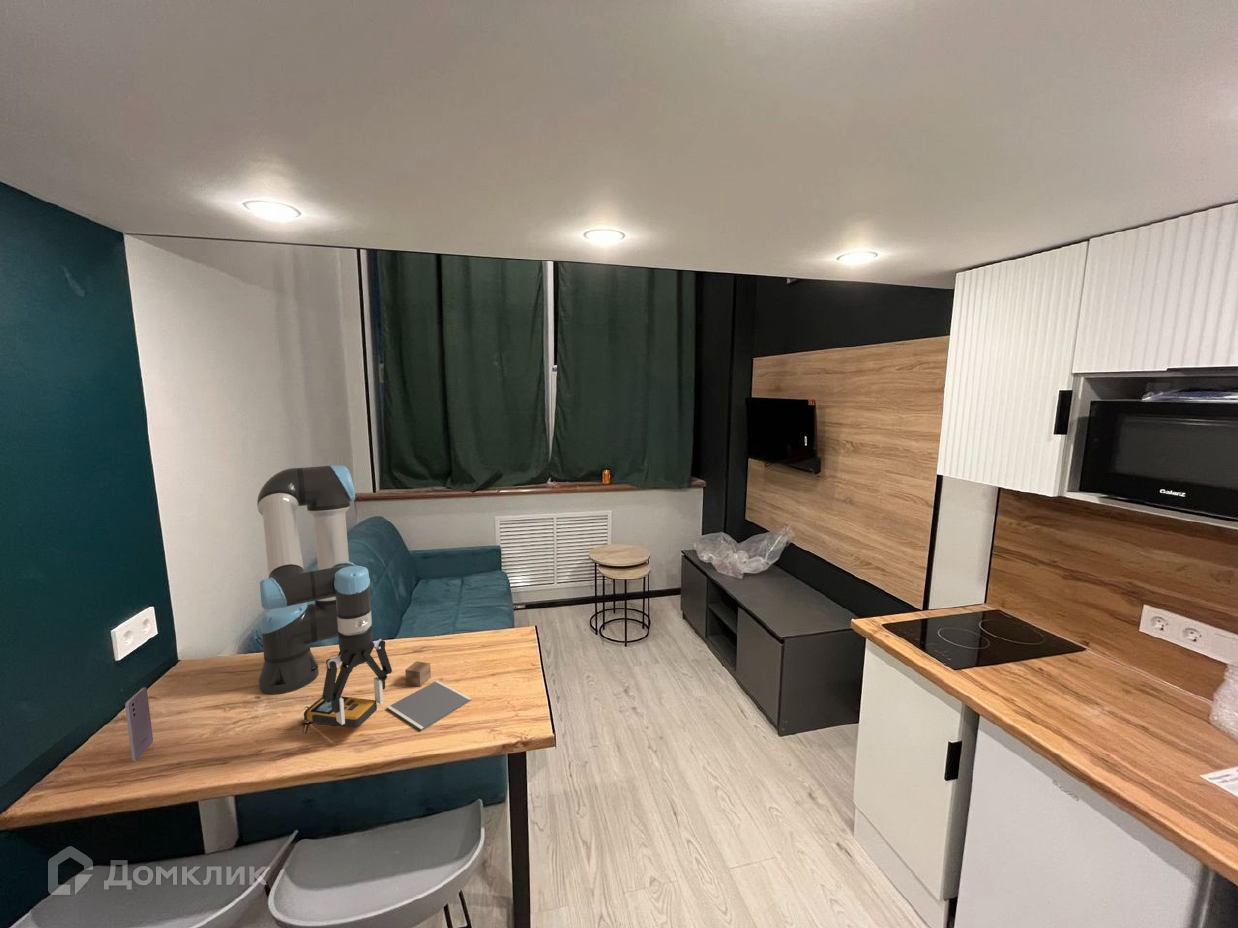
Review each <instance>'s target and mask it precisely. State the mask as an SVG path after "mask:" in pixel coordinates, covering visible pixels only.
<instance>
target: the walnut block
mask: <svg viewBox="0 0 1238 928" xmlns="http://www.w3.org/2000/svg"><path fill="white" fill-rule="evenodd" d="M404 671H405V685H406V686H407V685H408V686H413V687H418V688H421V687H422V686H423V685H425V683H427V682H428V681H429V680H430V679H431V678H432V672H431V663H429V662H423V661H417V660H415V662H413V663H412V664H411V665H409V666H408V667H407V668H406V669H404Z"/></svg>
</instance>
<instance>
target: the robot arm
mask: <svg viewBox="0 0 1238 928" xmlns="http://www.w3.org/2000/svg"><path fill="white" fill-rule="evenodd" d="M355 493H356V491H355V486H354V482H353V479H352V475H351V473H350V470H349V469H348V467H346V466H345V465H322V466H321V465H319V466H309V467H307V466H306V467H291V468H286V469H283V470H281V471H279V472H277V473H275V474H274V475H273V476H272V477H270V478H269V479H268V480H266V482H265V483H264V485H263V486H262V487H261V488H260V491H259V493H258V496H257V504H256V505H257V510H258V512H259V514H260V515H261V516H262V519H263V532H264V539H265V542H264V543H265V552H266V553H265V554H266V563H267V572H268V578H264V579H262V580H260V582H259V589H260V590H259V591H260V592H259V593H260V601H261V602H260V603H261V607H262V609H264V610H267V611H265V612H264V614H263V615H262V616H261V619H260V621H261V622H260V623H261V625H260V633H261V635H262V637H261V638H262V649H263V650H262V651H263V652H262V653H263V659H264V660H263V661H264V662H263V665H262V669H261V672H260V675H259V679H258V688H259V691H260V692H262V693H263V694H266V695H267V694H268V695H278V694H279V695H280V694H285V693H290V692H293V691H296V690H299V689H301V688H304V687H306V686H308V685H309V684H311V683H312V682H313V681H315V680H316V679H317V678H318V676H319V672H320V669H319V664H318V663H317V662H318V661H316V659H315V657H314V655H313V653H312V650H311V644H312V643H317V642H320V641H325V640H329V639H332V638H338V648H339V652H338V654H337V656H336V657H334V658H332V659H331V658H327V659H326V660H325V665H326V673H325V679H324V685H323V690H322V696H321V697H322V699H323V700H325V701H326V702H328V703H329V702H331V704H332V711H333V712H334V713H336V721H337V722H339V723H340V724H341V725H343V724H345V715H344V701H343V698H341V696H342V694H343V692H344V690H345V687H346V684H347V681H348V680H349V677H350V674H351V673H352V672H353V669H354V668H356V667H357V666H359V665H362V664H365V663H366V664H367V666H368V667H369V668H370V669H371V670H372V672H373V673H374V674H375V676H376V677H373V688H374V700H375V701H376V703H377V704H379V705H383V704H384V691H383V690H385V689H386V680H387V679H388V675H389V674H391V673H393V669H392V666H391V662H390V659H389V656H388V654H387V651H386V641H385V640H383V639H381V638H377V639H376V640H374V639H373V638H374V636H373V626H372V624H373V620H372V608H371V607H372V606H371V605H372V603H371V588H370V587H371V585H370V584H371V578H370V575H369V569H368V568H367V567H365V566H361V565H356V564H355V563H353V562H351V561H350V557H349V555H350V554H349V545H348V543H349V542H348V533H347V531H348V530H347V519H346V513H347V511H348V510H349V509H350V508H351V502H354V501H355V500H356V494H355ZM302 506H303V507H304V506H306V510H307V512H308V513H310V515H312V516H313V523H314V535H315V549H316V558H317V562H316V563H317V570H310V571H305V569H304V562H303V555H302V549H301V541H300V535H299V528H298V522H297V514H296V511H297V510H298V508H299V507H302ZM308 602H309V603H310V602H313V603H311V604H308ZM373 640H374V641H373ZM374 649H375V651H376V654H377V658H378V660H379V663H380V665H381V667H380V666H379V665H378V664H377V662H376V661H375V659H374V657H373V656H372V652H373V650H374ZM340 662H341V664H340V666H339V663H340ZM339 667H340V668H339ZM338 668H339V669H340V670H339V672H338ZM381 668H382V669H381ZM337 672H338V673H337ZM337 675H338V676H337Z"/></svg>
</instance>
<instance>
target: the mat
mask: <svg viewBox="0 0 1238 928" xmlns="http://www.w3.org/2000/svg"><path fill="white" fill-rule="evenodd" d="M471 701H472V698H471V697H470V696H468V695H466V694H464V693H461V692H460V691H458V690H456V689H454V688H453V687H451V686H449V685H448V684H445V683H443V682H441V681H440V680H435V681H433V682H432V683H430V684H428V685H426V686H424V687H422V688H420V689H418V690H417V691H414V692H413V693H411V694H409V695H407V696H405V697H404V698H401V699H399V700H398V701H396V702H394V703H392V704H390V705H387V706H386V710H387V711H389V712H391V714H393V715H395V716H397V717H398V718H399V719H401V720H403V721H404V722H406V723H407V724H409V725H411V726H412V727H413V728H415V729H417V730H418V731H419V732H423V731H425V730H426V729H428V728H429V727H431V726H432V725H434V724H436V723H437V722H439V721H440V720H442V719H444V718H446V717H447V716H449V715H451V714H452V713H453V712H455V711H457V710H458V709H460V708H462V707H463V706H465V705H466V704H468V703H470V702H471Z"/></svg>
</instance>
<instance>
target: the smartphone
mask: <svg viewBox="0 0 1238 928" xmlns="http://www.w3.org/2000/svg"><path fill="white" fill-rule="evenodd" d="M124 706H125V707H124V708H125V714H126V715H125V716H126V722H127V729H128V731H127V732H128V739H129V747H130V753H131V760H132V761H133V762H136V761H138V760H139V759H140V758H141V757H142V755H143V754H144V753H145V752H146V751H147V750H148V749H149V748H150V747H151V746H152V744H153V743H154V736H153V728H152V720H151V713H150V703H149V697H148V688H147V687H142V688H140V689H139V691H137V692H136V693H135V694H134V695H133V696H132V697H130V698H129V699H128V700H127V701H126V702H125V704H124Z"/></svg>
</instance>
